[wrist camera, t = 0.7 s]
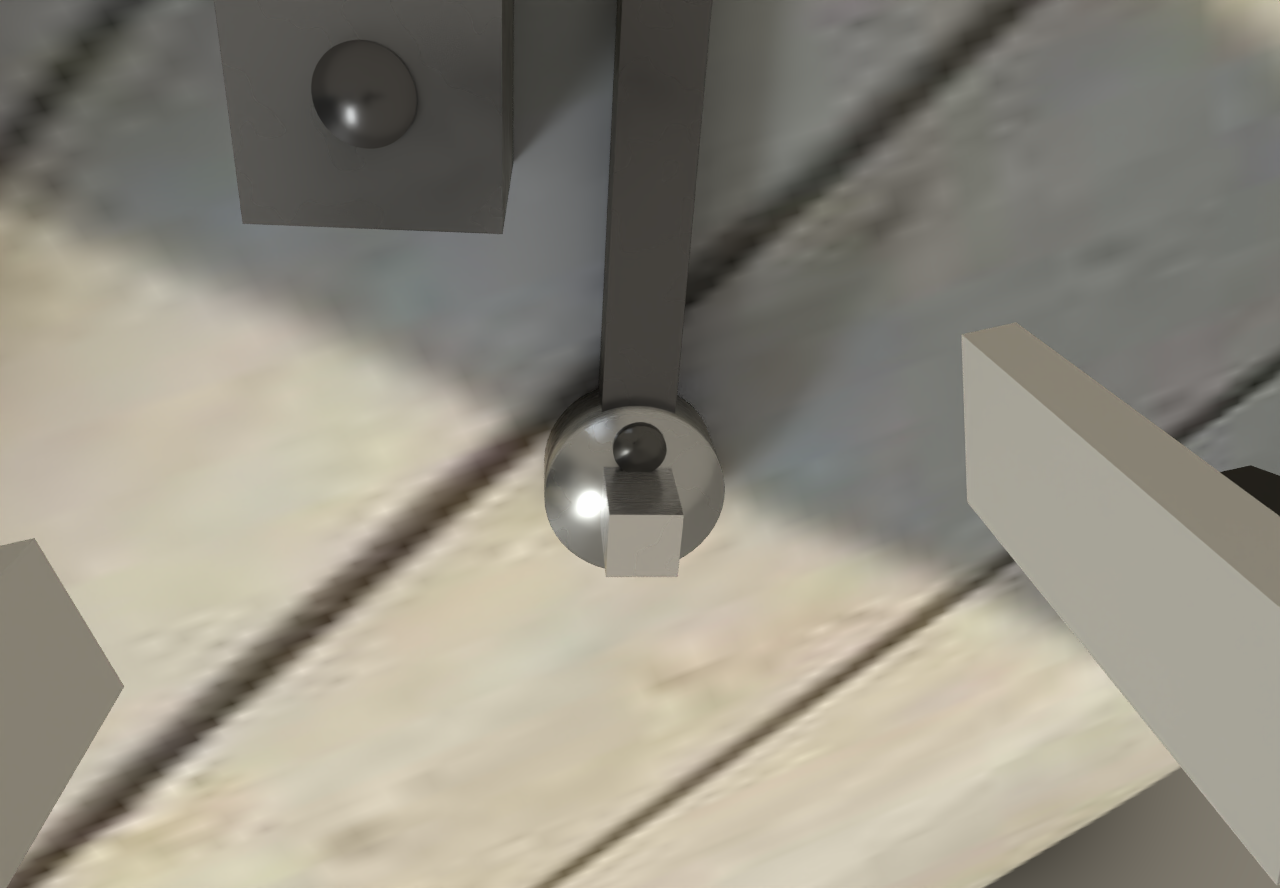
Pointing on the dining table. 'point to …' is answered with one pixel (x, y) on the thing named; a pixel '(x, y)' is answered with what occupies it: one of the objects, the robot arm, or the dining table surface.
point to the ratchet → (643, 320)
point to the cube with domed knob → (371, 111)
